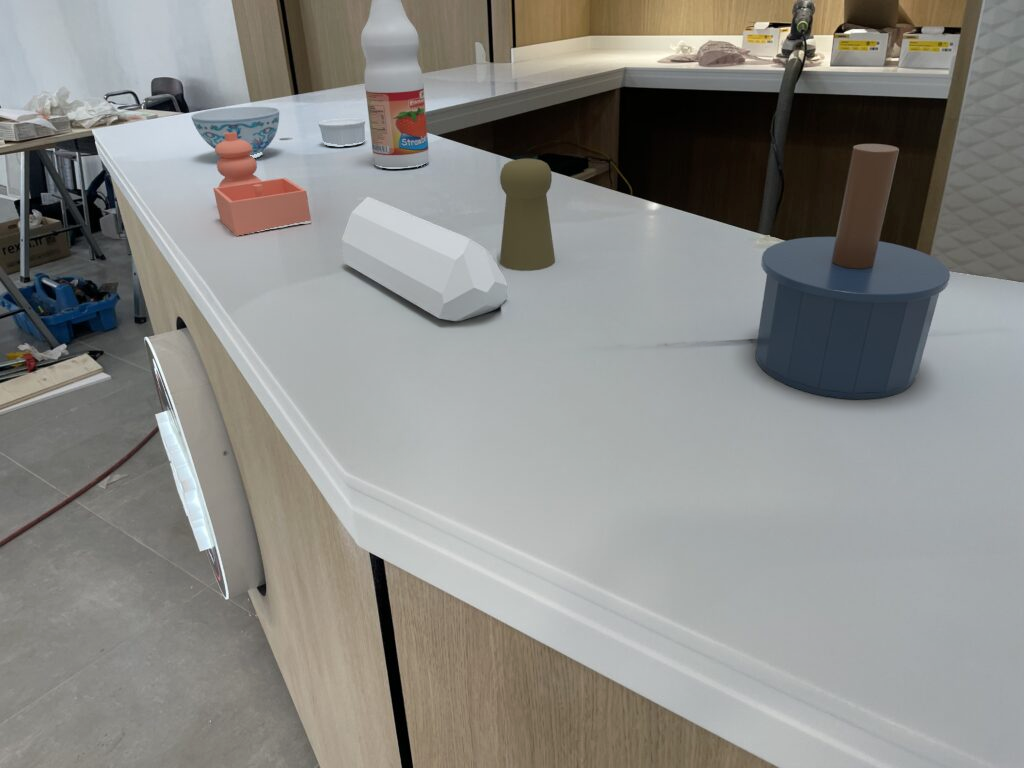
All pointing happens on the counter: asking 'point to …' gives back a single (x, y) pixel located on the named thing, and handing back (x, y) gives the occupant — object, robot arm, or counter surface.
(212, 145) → the chinaware
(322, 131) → the ramekin
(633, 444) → the counter surface
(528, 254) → the cork
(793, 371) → the blue round pot
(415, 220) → the crystal
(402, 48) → the fruit juice
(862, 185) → the cover
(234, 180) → the pottery
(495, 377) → the counter surface
